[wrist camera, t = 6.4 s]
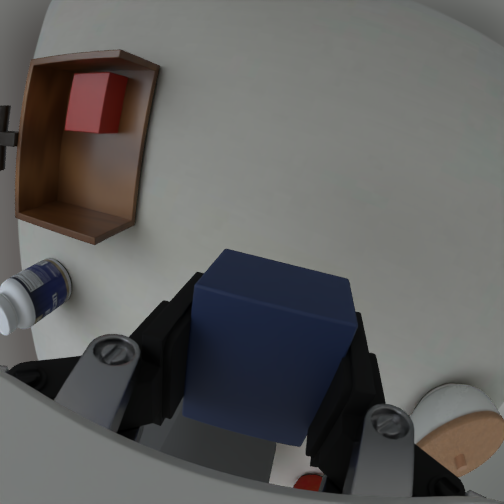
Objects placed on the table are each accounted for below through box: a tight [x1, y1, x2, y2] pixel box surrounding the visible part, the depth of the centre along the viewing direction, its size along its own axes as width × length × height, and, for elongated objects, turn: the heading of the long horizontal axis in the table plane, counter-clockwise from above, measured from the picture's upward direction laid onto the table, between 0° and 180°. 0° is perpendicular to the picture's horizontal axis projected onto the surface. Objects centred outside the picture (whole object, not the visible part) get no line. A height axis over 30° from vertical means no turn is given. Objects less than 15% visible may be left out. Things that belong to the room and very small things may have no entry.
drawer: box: [0, 50, 160, 245], centre depth 22 cm, size 14×14×7 cm
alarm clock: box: [139, 398, 276, 483], centre depth 27 cm, size 16×11×16 cm
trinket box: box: [410, 383, 504, 477], centre depth 23 cm, size 11×11×9 cm
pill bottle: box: [0, 259, 71, 335], centre depth 27 cm, size 5×5×10 cm
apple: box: [293, 475, 322, 492], centre depth 31 cm, size 6×6×8 cm
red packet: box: [65, 72, 128, 134], centre depth 22 cm, size 5×4×3 cm
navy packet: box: [182, 249, 358, 447], centre depth 9 cm, size 5×4×3 cm
